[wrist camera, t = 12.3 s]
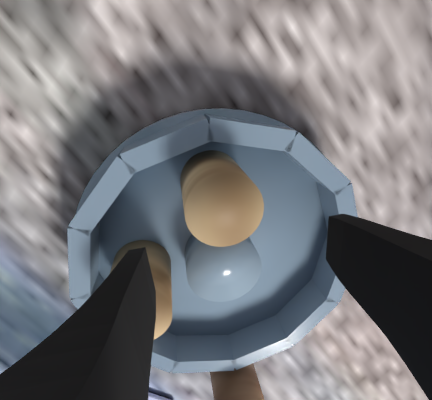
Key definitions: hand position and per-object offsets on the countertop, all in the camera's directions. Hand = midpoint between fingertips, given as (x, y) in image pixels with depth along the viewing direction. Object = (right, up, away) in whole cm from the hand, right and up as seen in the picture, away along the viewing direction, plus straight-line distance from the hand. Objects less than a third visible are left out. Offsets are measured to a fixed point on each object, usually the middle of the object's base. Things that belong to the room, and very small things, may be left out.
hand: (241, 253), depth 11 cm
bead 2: (-1, +3, +8) cm, 8 cm away
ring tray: (-1, -1, +11) cm, 11 cm away
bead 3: (0, -13, +16) cm, 20 cm away
